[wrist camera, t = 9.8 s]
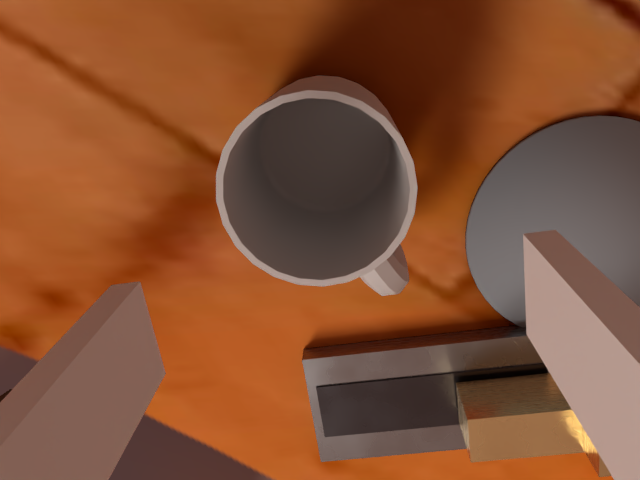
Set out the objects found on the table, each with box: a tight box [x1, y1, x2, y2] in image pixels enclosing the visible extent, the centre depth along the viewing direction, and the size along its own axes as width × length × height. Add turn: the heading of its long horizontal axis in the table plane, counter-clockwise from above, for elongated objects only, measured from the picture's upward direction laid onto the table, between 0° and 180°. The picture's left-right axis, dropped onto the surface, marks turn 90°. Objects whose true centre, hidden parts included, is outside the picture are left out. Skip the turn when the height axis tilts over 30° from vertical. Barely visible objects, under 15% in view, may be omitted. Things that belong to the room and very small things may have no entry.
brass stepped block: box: [456, 373, 612, 477], centre depth 29 cm, size 3×8×5 cm, turn 99°
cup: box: [216, 75, 418, 296], centre depth 25 cm, size 7×10×9 cm
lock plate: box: [302, 325, 550, 462], centre depth 32 cm, size 7×15×1 cm, turn 99°
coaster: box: [466, 115, 640, 328], centre depth 29 cm, size 12×12×1 cm
